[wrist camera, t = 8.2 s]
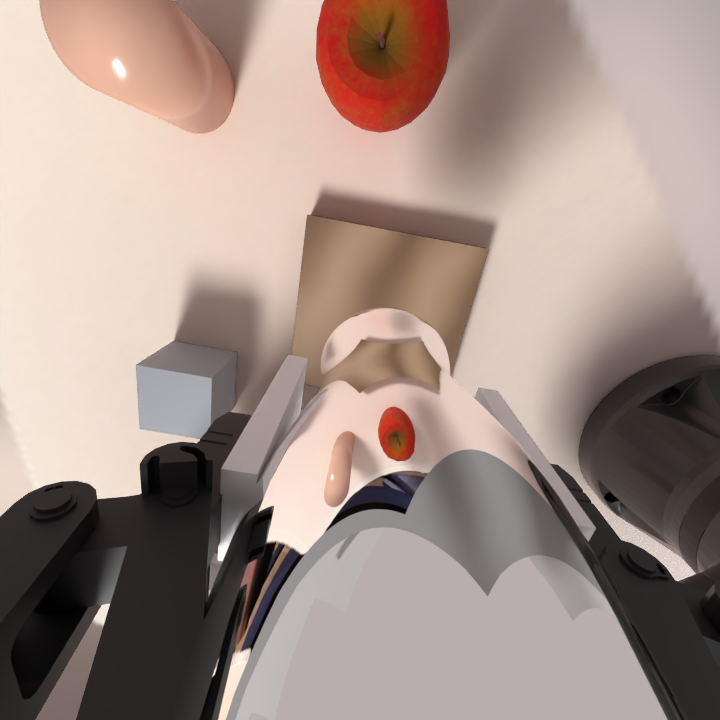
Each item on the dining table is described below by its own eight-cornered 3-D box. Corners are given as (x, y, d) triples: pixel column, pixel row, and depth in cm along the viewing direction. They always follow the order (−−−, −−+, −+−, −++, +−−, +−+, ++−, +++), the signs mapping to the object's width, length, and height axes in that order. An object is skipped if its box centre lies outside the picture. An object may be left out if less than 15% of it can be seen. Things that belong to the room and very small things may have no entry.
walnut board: (482, 247, 25) (488, 249, 24) (438, 398, 29) (441, 407, 28) (310, 214, 25) (307, 214, 23) (292, 373, 29) (288, 381, 28)
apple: (361, -4, 20) (356, -118, 13) (452, 62, 21) (491, -12, 14) (311, 112, 22) (284, 66, 15) (395, 167, 23) (406, 147, 16)
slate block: (237, 351, 29) (211, 378, 24) (234, 406, 30) (210, 440, 26) (174, 340, 28) (135, 365, 24) (175, 396, 30) (139, 428, 26)
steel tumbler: (306, 296, 16) (-100, 822, 2) (463, 295, 16) (1114, 865, 2) (316, 430, 19) (158, 1054, 5) (451, 430, 18) (694, 1084, 5)
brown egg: (236, 43, 21) (163, -49, 14) (232, 140, 23) (166, 105, 16) (150, 25, 21) (29, -77, 14) (153, 124, 23) (49, 81, 15)
